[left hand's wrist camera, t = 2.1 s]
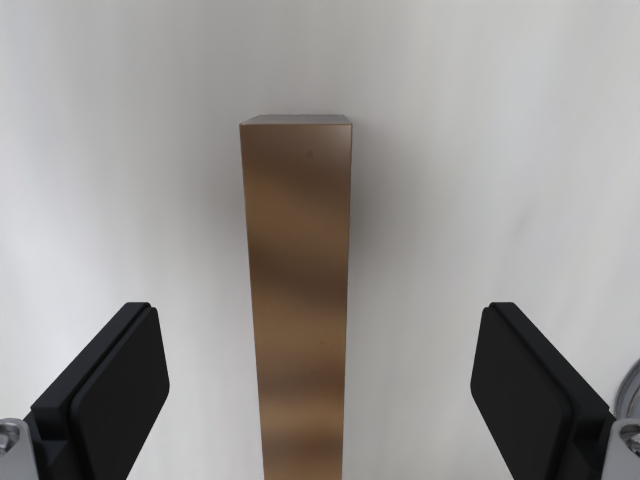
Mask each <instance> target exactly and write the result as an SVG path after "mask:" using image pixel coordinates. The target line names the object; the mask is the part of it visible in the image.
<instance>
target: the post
mask: <svg viewBox="0 0 640 480" xmlns="http://www.w3.org/2000/svg"><path fill="white" fill-rule="evenodd" d="M239 126H240V140H241V155H242V169H243V183H244V197H245V211H246V225H247V240H248V254H249V268H250V282H251V296H252V311H253V325H254V339H255V353H256V367H257V381H258V396H259V410H260V424H261V438H262V452H263V467H264V480H342V454H343V420H344V387H345V353H346V320H347V286H348V253H349V219H350V186H351V152H352V124H351V123H350V122H349V120H348V119H347V118H346V117H345V116H344V115H259V116H256V117H254V118H252V119H250V120H248V121H245V122H243V123H241V124H240V125H239Z"/></svg>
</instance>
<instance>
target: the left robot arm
mask: <svg viewBox="0 0 640 480" xmlns="http://www.w3.org/2000/svg"><path fill="white" fill-rule="evenodd" d="M169 387H170V384H169V377H168V371H167V365H166V359H165V353H164V347H163V341H162V335H161V330H160V324H159V318H158V312H157V309H156V308H155V307H151V305H150V303H148V302H128V303H126V304H125V305H124V306H123V307H122V308H121V309H120V310H119V311H118V312H117V313H116V314H115V315H114V316H113V318H112V319H111V320H110V321H109V322H108V323H107V324H106V325H105V326H104V327H103V328H102V330H101V331H100V332H99V333H98V334H97V335H96V336H95V337H94V338H93V339H92V340H91V342H90V343H89V344H88V345H87V346H86V347H85V348H84V349H83V350H82V351H81V352H80V353H79V355H78V356H77V357H76V358H75V359H74V360H73V361H72V362H71V363H70V364H69V365H68V367H67V368H66V369H65V370H64V371H63V372H62V373H61V374H60V375H59V376H58V377H57V379H56V380H55V381H54V382H53V383H52V384H51V385H50V386H49V387H48V388H47V389H46V391H45V392H44V393H43V394H42V395H41V396H40V397H39V398H38V399H37V400H36V401H35V402H34V404H33V405H32V406H31V407H30V408H31V411H30V413H29V414H28V415H27V416H26V417H25V418H24V419H23V420H21V419H16V418H6V419H0V480H126V479H127V477H128V475H129V473H130V471H131V469H132V467H133V465H134V463H135V461H136V459H137V457H138V455H139V453H140V451H141V449H142V447H143V445H144V443H145V441H146V439H147V437H148V435H149V433H150V431H151V429H152V427H153V425H154V423H155V421H156V419H157V417H158V415H159V413H160V411H161V409H162V407H163V405H164V403H165V401H166V399H167V396H168V393H169ZM470 387H471V393H472V396H473V399H474V401H475V403H476V405H477V407H478V409H479V411H480V413H481V415H482V417H483V419H484V421H485V423H486V425H487V427H488V429H489V431H490V433H491V435H492V437H493V439H494V441H495V443H496V445H497V447H498V449H499V451H500V453H501V455H502V457H503V459H504V461H505V463H506V465H507V467H508V469H509V471H510V473H511V475H512V477H513V479H514V480H640V419H634V418H624V419H619V420H617V419H616V418H615V417H614V416H613V415H612V414H611V413H610V411H609V408H610V407H609V406H608V405H607V404H606V402H605V401H604V400H603V399H602V398H601V397H600V396H599V395H598V394H597V393H596V392H595V391H594V389H593V388H592V387H591V386H590V385H589V384H588V383H587V382H586V381H585V380H584V379H583V377H582V376H581V375H580V374H579V373H578V372H577V371H576V370H575V369H574V368H573V367H572V365H571V364H570V363H569V362H568V361H567V360H566V359H565V358H564V357H563V356H562V355H561V353H560V352H559V351H558V350H557V349H556V348H555V347H554V346H553V345H552V344H551V343H550V342H549V340H548V339H547V338H546V337H545V336H544V335H543V334H542V333H541V332H540V331H539V330H538V328H537V327H536V326H535V325H534V324H533V323H532V322H531V321H530V320H529V319H528V318H527V316H526V315H525V314H524V313H523V312H522V311H521V310H520V309H519V308H518V307H517V306H516V305H515V304H514V303H512V302H492V303H490V305H489V307H485V308H484V309H483V312H482V318H481V324H480V330H479V335H478V341H477V347H476V353H475V359H474V365H473V371H472V377H471V384H470Z"/></svg>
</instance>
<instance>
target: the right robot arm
mask: <svg viewBox="0 0 640 480" xmlns="http://www.w3.org/2000/svg"><path fill="white" fill-rule="evenodd" d="M624 418H634V419H640V364H639V365H638V366H637V367H636V369H635V370H634V371H633V372H632V374H631V375H630V376H629V378H628V379H627V381H626V383H625V384H624V386H623V388H622V390H621V393H620V395H619V398H618V402H617V408H616V419H617V420H619V419H624Z"/></svg>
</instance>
